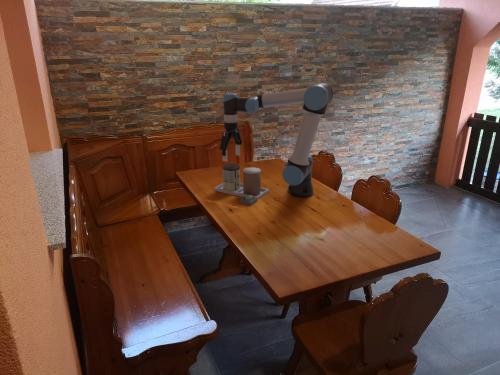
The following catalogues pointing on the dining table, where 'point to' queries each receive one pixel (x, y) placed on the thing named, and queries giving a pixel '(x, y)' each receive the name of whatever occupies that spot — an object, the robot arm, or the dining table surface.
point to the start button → (248, 197)
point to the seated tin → (251, 181)
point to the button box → (248, 201)
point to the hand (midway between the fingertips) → (231, 158)
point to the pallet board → (240, 191)
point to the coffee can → (231, 177)
